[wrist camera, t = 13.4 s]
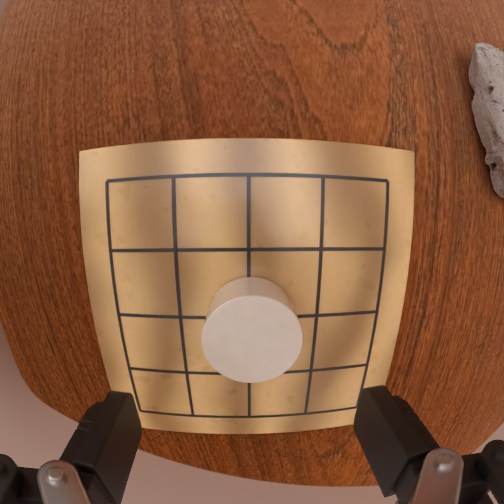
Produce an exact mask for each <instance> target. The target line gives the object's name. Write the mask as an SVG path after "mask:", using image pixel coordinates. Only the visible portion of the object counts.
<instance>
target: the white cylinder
mask: <svg viewBox="0 0 504 504" xmlns="http://www.w3.org/2000/svg"><path fill="white" fill-rule="evenodd" d="M201 344H202V349H203V353H204V355H205V357H206V359H207V361H208V362H209V363H210V365H211V366H212V367H213V368H214V369H215V370H216V371H217V372H219V373H220V374H222V375H223V376H225V377H227V378H229V379H232V380H234V381H238V382H244V383H259V382H264V381H268V380H271V379H274V378H276V377H278V376H280V375H282V374H283V373H284V372H286V371H287V370H288V369H289V368H290V367H291V366H292V365H293V364H294V363H295V361H296V360H297V358H298V356H299V354H300V352H301V349H302V345H303V331H302V327H301V324H300V321H299V319H298V317H297V314H296V312H295V310H294V307H293V305H292V303H291V300H290V298H289V297H288V295H287V294H286V293H285V291H284V290H283V289H282V288H280V287H279V286H278V285H276V284H275V283H273V282H271V281H269V280H266V279H263V278H257V277H245V278H240V279H236V280H233V281H231V282H229V283H227V284H226V285H224V286H223V287H221V288H220V289H219V290H218V291H217V292H216V293H215V295H214V296H213V298H212V299H211V302H210V304H209V307H208V310H207V314H206V318H205V322H204V326H203V330H202V335H201Z"/></svg>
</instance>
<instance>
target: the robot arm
mask: <svg viewBox="0 0 504 504" xmlns="http://www.w3.org/2000/svg"><path fill="white" fill-rule="evenodd" d="M354 430H355V433H356V436H357V438H358V440H359V442H360V444H361V447H362V449H363V451H364V453H365V455H366V458H367V460H368V462H369V464H370V466H371V469H372V471H373V473H374V475H375V477H376V480H377V482H378V484H379V486H380V488H381V491H382V493H383V495H384V497H388V496H391V495H394V494H396V496H397V498H398V500H397V501H396V503H395V504H493V502H492V500H491V498H490V497H489V495H488V494H487V493H488V492H489V491H491V492H492V494H493V495H494V497H495V499H496V500H497V502H498V504H504V441H502V440H493V441H491V442H489V443H488V444H487V445H486V446H485V447H484V449H483V450H482V452H481V453H476V454H470V455H463V456H461V455H460V454H459V453H458V452H456V451H455V450H453V449H450V448H440V447H439V445H438V444H437V442H436V441H435V440H434V438H433V437H432V435H431V434H430V433H429V431H428V430H427V428H426V427H425V426H424V424H423V423H422V421H420V420H419V417H418V416H417V415H416V413H415V414H414V410H413V409H412V408H411V406H410V405H409V404H408V402H406V401H405V400H403V399H402V398H400V397H399V396H397V395H396V396H392V395H391V394H390V392H389V391H388V389H387V388H386V387H385V386H384V385H379V386H373V387H367V388H363V389H362V391H361V395H360V398H359V402H358V406H357V410H356V413H355V417H354ZM141 435H142V426H141V421H140V418H139V415H138V411H137V408H136V404H135V401H134V397H133V395H132V394H131V393H128V392H120V391H113V390H111V391H110V392H109V393H108V395H107V396H106V398H105V400H104V402H103V403H101V402H96V403H95V404H94V405H93V406H91V407H90V408H89V409H88V410H87V411H86V413H85V414H84V416H83V418H82V422H81V421H80V423H79V426H78V427H77V430H75V432H74V434H73V436H72V438H71V439H70V441H69V443H68V445H67V446H66V448H65V450H64V452H63V454H62V456H61V457H60V459H59V460H52V461H49V462H46V463H45V464H43V465H42V466H41V467H40V468H39V469H34V468H24V467H18V466H17V465H16V464H15V463H14V461H13V460H12V459H11V458H10V457H9V456H7V455H4V454H0V504H121V501H122V497H123V494H124V490H125V487H126V484H127V481H128V477H129V474H130V471H131V468H132V464H133V461H134V458H135V455H136V452H137V449H138V446H139V442H140V439H141Z"/></svg>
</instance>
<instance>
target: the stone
mask: <svg viewBox="0 0 504 504" xmlns="http://www.w3.org/2000/svg"><path fill="white" fill-rule="evenodd" d="M468 76H469V82H470V85H471V87H472V88H473V90H474V92H475V95H474V99H473V101H472V110H473V114H474V117H475V124H476V127H477V130H478V133H479V136H480V138H481V143H482V144H483V147H485V149H486V156H485V162H486V164H487V165H489V168H490V177H491V181H492V186H493V189H494V191H495V192H496V193H497V194H498V195H499V196H500V197H501V198H504V52H503V51H501V50H500V49H498V48H495V47H493V46H492V45H488V44H486V43H483V42H480V43H476V44H474V49H473V54H472V59H471V63H470V65H469V70H468Z"/></svg>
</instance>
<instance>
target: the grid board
mask: <svg viewBox="0 0 504 504" xmlns="http://www.w3.org/2000/svg"><path fill="white" fill-rule="evenodd" d="M414 183H415V161H414V152H413V151H408V150H402V149H395V148H388V147H380V146H373V145H364V144H355V143H345V142H334V141H321V140H305V139H282V138H208V139H186V140H170V141H157V142H146V143H136V144H127V145H119V146H111V147H103V148H96V149H90V150H83V151H80V152H79V197H80V218H81V233H82V244H83V254H84V262H85V270H86V278H87V284H88V291H89V297H90V303H91V308H92V314H93V319H94V324H95V329H96V333H97V338H98V342H99V346H100V351H101V355H102V359H103V362H104V366H105V370H106V373H107V377H108V380H109V384H110V387H111V390H113V391H120V392H128V393H131V394H132V395H133V397H134V401H135V404H136V408H137V411H138V415H139V418H140V421H141V426H142V428H149V429H157V430H166V431H177V432H190V433H210V434H263V433H282V432H295V431H306V430H316V429H324V428H332V427H338V426H345V425H351V424H354V417H355V413H356V410H357V406H358V402H359V398H360V395H361V391H362V389H363V388H367V387H373V386H379V385H384V386H385V384H386V380H387V377H388V373H389V369H390V365H391V361H392V357H393V353H394V349H395V344H396V340H397V335H398V330H399V325H400V320H401V315H402V309H403V303H404V297H405V291H406V284H407V277H408V269H409V261H410V252H411V241H412V229H413V213H414ZM245 277H257V278H263V279H266V280H269V281H271V282H273V283H275V284H276V285H278V286H279V287H280V288H282V289H283V290H284V291H285V293H286V294H287V295H288V297H289V298H290V300H291V303H292V305H293V307H294V310H295V312H296V314H297V317H298V319H299V321H300V324H301V327H302V331H303V345H302V349H301V352H300V354H299V356H298V358H297V360H296V361H295V363H294V364H293V365H292V366H291V367H290V368H289V369H288V370H287V371H286V372H284V373H283V374H282V375H280V376H278V377H276V378H274V379H271V380H268V381H264V382H259V383H244V382H238V381H234V380H232V379H229V378H227V377H225V376H223V375H222V374H220V373H219V372H217V371H216V370H215V369H214V368H213V367H212V366H211V365H210V363H209V362H208V361H207V359H206V357H205V355H204V353H203V349H202V344H201V335H202V330H203V326H204V322H205V318H206V314H207V310H208V307H209V304H210V302H211V299H212V298H213V296H214V295H215V293H216V292H217V291H218V290H219V289H220V288H221V287H223V286H224V285H226V284H227V283H229V282H231V281H233V280H236V279H240V278H245Z"/></svg>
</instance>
